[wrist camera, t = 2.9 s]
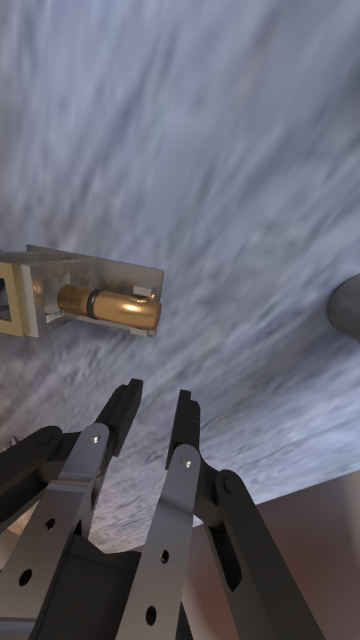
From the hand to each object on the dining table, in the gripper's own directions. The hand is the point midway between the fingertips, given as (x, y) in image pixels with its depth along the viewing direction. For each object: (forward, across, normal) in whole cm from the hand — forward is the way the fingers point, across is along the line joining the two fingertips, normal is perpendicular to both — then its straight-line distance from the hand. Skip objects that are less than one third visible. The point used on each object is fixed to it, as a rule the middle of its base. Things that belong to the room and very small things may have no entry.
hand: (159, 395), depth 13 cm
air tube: (+16, +10, 0) cm, 19 cm away
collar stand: (+19, +16, 0) cm, 25 cm away
